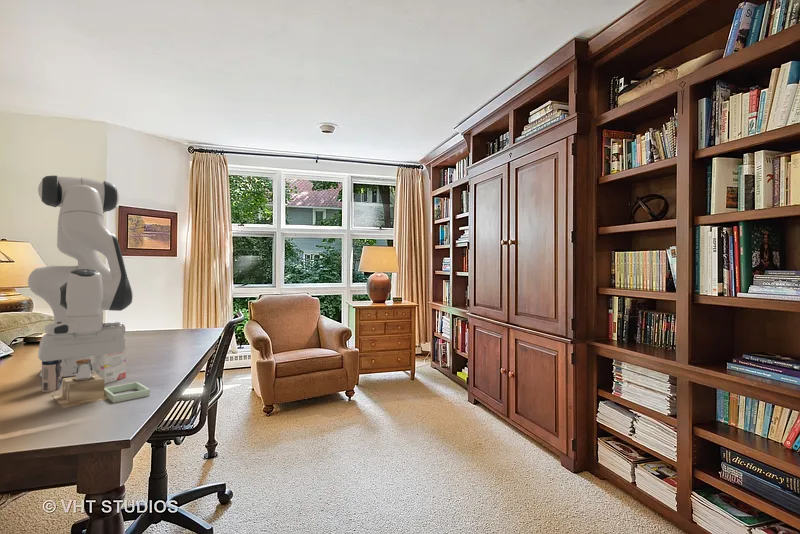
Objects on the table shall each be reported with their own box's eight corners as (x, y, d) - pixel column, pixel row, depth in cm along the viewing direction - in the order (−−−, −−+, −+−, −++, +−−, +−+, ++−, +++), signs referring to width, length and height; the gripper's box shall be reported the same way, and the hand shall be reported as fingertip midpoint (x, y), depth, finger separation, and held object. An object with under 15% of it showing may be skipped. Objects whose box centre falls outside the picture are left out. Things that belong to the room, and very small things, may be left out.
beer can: (62, 392, 128) (63, 353, 128) (42, 396, 125) (43, 356, 125) (60, 389, 132) (60, 351, 132) (40, 392, 128) (40, 353, 128)
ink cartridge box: (114, 379, 144) (114, 336, 144) (126, 380, 143) (126, 337, 143) (91, 386, 136) (91, 341, 136) (103, 387, 135) (104, 341, 135)
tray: (102, 397, 124) (102, 388, 124) (137, 390, 131) (137, 382, 131) (113, 406, 117) (113, 396, 117) (149, 398, 124) (149, 389, 124)
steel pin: (74, 394, 122) (74, 360, 122) (89, 391, 125) (89, 358, 125) (77, 396, 120) (77, 362, 120) (92, 394, 122) (92, 360, 122)
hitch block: (51, 398, 123) (52, 377, 123) (100, 389, 132) (100, 370, 132) (63, 411, 112) (63, 389, 112) (115, 401, 121) (115, 380, 121)
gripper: (122, 320, 132) (121, 364, 132) (37, 326, 117) (36, 376, 117) (128, 322, 128) (127, 367, 128) (41, 329, 112) (40, 380, 112)
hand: (83, 371), depth 122 cm, fingers closed on steel pin, 4 cm apart
